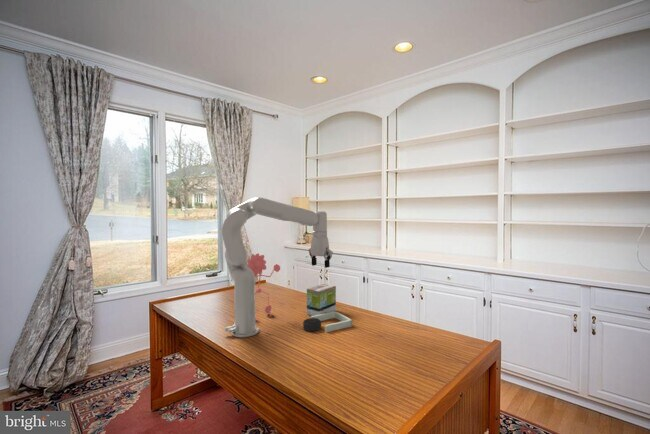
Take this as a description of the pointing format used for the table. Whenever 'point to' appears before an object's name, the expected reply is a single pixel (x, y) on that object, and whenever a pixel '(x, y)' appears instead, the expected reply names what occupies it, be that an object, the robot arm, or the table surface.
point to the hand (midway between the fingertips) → (320, 266)
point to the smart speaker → (312, 324)
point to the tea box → (321, 299)
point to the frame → (335, 326)
